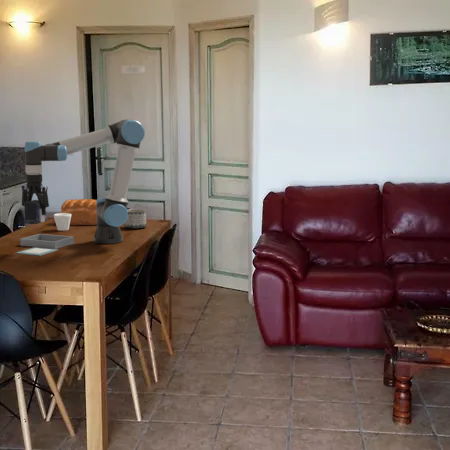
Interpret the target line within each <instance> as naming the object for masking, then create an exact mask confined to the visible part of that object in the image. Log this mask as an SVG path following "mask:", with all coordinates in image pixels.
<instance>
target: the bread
mask: <svg viewBox="0 0 450 450" xmlns="http://www.w3.org/2000/svg"><path fill="white" fill-rule="evenodd" d="M96 201H97V199H93V198H91V199H86V198H81V199H71V198H70V199H66V200H65V201H64V202H63V203H62V204H61V207H60V210H61V212H60V213H69V214H71V220H70V225H69V226H81V225H82V226H97V213H96Z"/></svg>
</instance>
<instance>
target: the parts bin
mask: <svg viewBox="0 0 450 450" xmlns="http://www.w3.org/2000/svg"><path fill="white" fill-rule="evenodd" d="M19 240H20V245H19V246H20V247H31V246H32V247H31V248H34V247H38V248H48V249H61V248H62V247H63V248H64V247H66V246H71V245H73V244H75V237H74V236H68V235H67V236H66V235H59V234H58V235H57V234H47V233H38V234H34V235H30V236H25V237H22V238H20V239H19Z"/></svg>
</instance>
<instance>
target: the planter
mask: <svg viewBox="0 0 450 450" xmlns="http://www.w3.org/2000/svg"><path fill="white" fill-rule="evenodd" d="M127 211H128V218H127V221H126V222H125V223H124V227H125V228H128V229H129V228H130V229H131V230H140V229H139V228H141V229H143V228H146V227H147V210H146V209H141V208H130V209H128V208H127Z"/></svg>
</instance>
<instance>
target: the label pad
mask: <svg viewBox="0 0 450 450" xmlns="http://www.w3.org/2000/svg"><path fill="white" fill-rule="evenodd" d="M57 251H59V248H57V249H51V248H41V247H31V248H28V249H24V250H20V251H18V252H17V251H16V254H19V255H27V256H28V255H30V256H38V257H39V256H40V257H41V256H43V255H47V254H48V255H49V254H51V253H53V252H57Z"/></svg>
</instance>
